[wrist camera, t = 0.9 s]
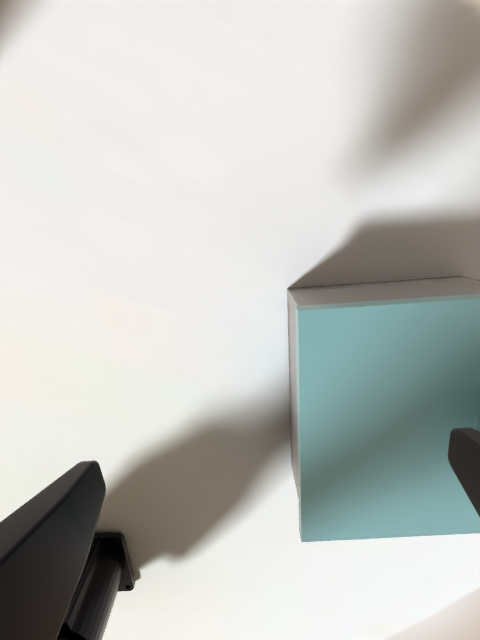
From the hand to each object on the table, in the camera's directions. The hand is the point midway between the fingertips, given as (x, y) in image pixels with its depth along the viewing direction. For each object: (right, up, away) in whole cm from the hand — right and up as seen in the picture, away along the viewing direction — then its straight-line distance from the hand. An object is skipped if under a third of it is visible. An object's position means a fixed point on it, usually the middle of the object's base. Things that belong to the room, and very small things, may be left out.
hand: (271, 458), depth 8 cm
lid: (+8, -2, +10) cm, 13 cm away
